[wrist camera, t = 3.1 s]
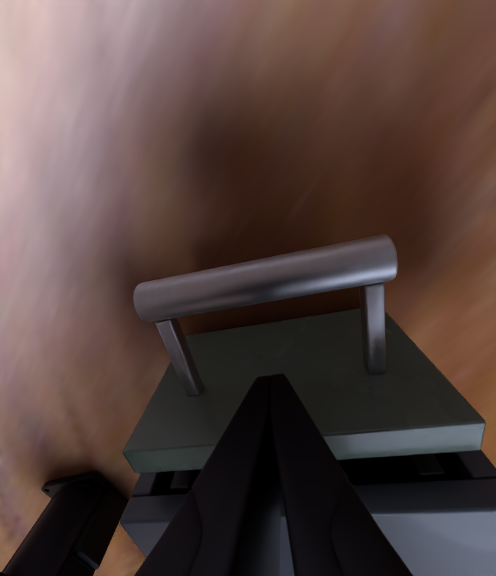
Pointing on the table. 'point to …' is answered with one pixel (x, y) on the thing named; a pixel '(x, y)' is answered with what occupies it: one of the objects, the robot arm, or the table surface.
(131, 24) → the table surface
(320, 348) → the drawer
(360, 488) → the cabinet
